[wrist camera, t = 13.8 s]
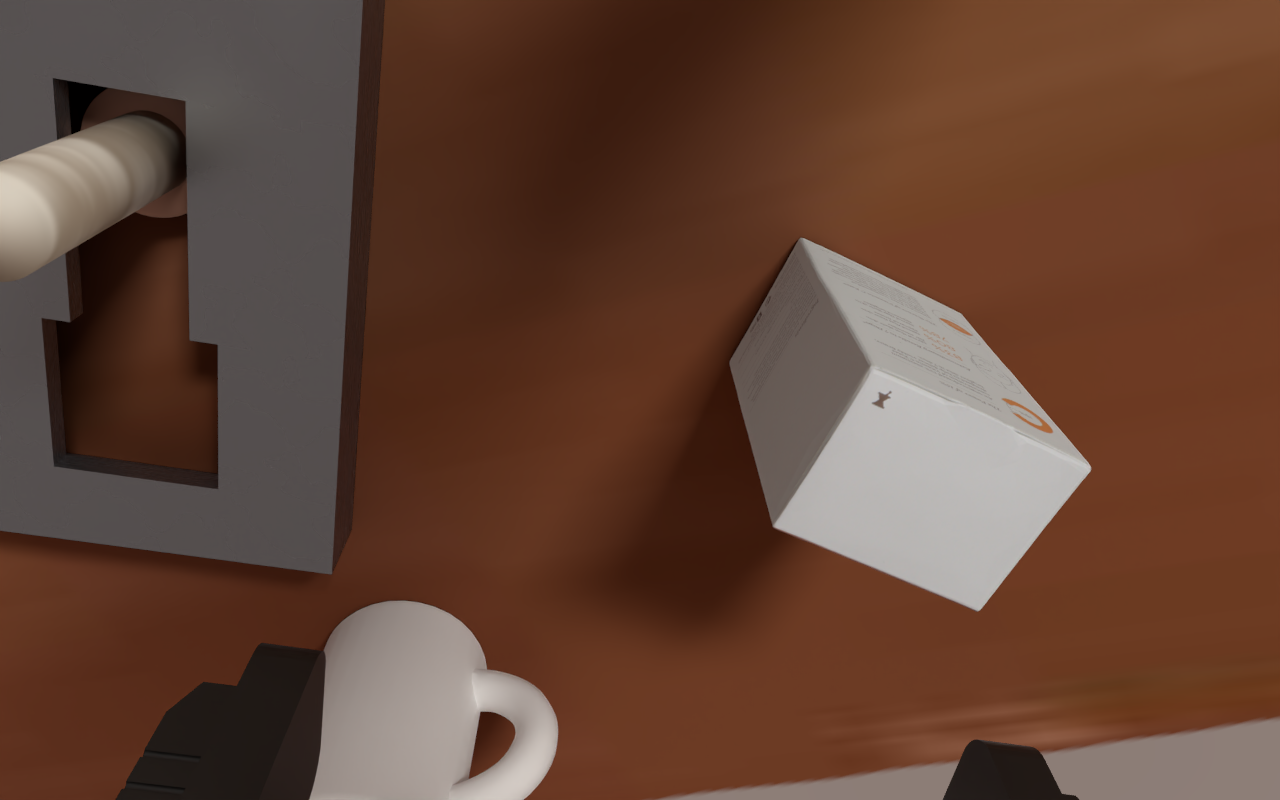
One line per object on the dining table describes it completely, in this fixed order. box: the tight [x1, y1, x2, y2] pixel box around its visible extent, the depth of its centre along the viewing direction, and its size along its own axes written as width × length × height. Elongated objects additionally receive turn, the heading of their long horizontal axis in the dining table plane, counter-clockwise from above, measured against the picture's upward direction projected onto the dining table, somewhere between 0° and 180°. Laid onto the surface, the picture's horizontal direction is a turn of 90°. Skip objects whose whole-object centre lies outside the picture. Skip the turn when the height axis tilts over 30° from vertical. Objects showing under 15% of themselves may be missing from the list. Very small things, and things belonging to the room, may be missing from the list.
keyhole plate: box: [0, 0, 385, 574], centre depth 39 cm, size 24×16×4 cm, turn 170°
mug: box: [309, 600, 558, 800], centre depth 44 cm, size 8×12×12 cm
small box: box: [729, 238, 1091, 612], centre depth 37 cm, size 8×6×13 cm
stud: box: [0, 88, 187, 282], centre depth 33 cm, size 5×5×12 cm
